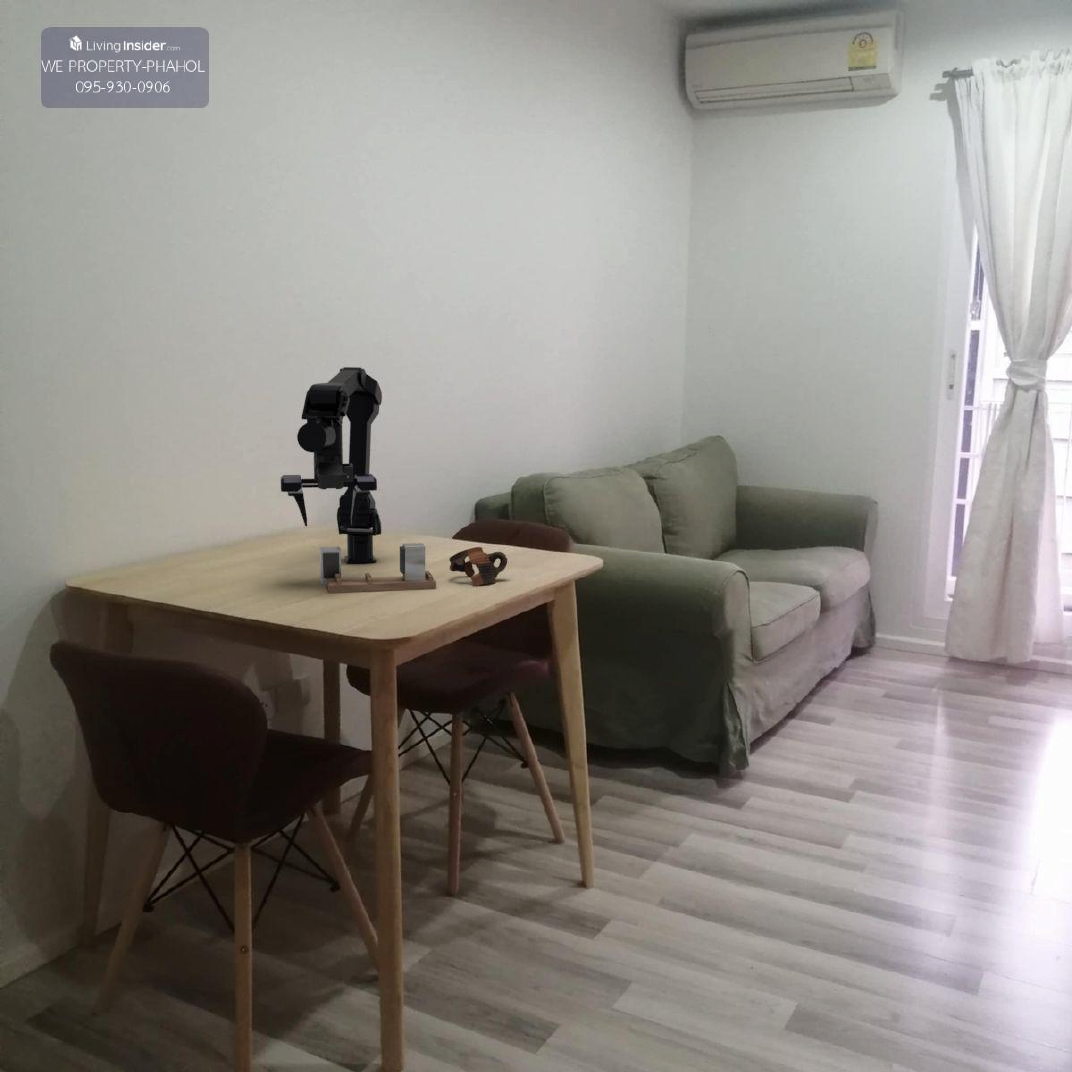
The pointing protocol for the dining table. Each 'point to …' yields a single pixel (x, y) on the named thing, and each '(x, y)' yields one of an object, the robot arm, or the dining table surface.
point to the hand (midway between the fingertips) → (329, 525)
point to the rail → (411, 579)
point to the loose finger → (329, 563)
